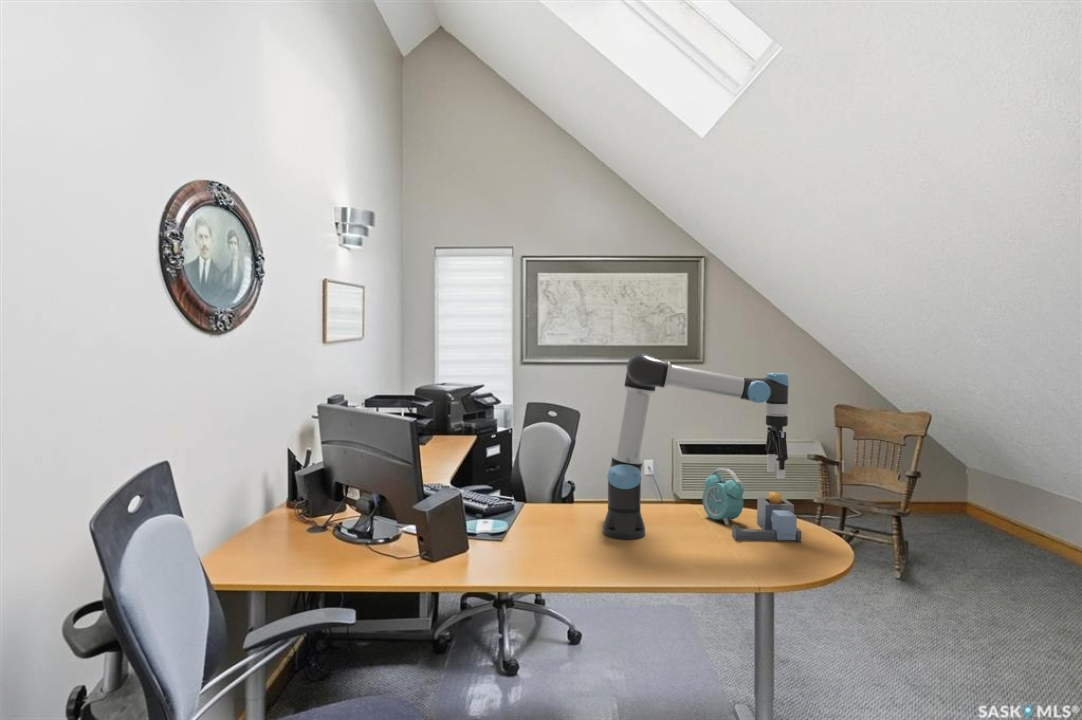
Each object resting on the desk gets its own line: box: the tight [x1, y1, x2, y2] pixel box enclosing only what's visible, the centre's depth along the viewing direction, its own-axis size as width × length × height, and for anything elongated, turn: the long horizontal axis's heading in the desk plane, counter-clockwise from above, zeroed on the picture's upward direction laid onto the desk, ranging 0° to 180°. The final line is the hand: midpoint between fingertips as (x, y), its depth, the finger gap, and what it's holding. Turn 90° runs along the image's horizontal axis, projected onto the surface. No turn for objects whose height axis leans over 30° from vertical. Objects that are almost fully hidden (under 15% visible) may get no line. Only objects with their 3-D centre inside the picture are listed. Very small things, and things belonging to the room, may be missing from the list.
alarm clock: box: [702, 467, 745, 526], centre depth 230 cm, size 17×10×20 cm, turn 25°
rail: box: [731, 524, 802, 544], centre depth 207 cm, size 22×5×4 cm, turn 86°
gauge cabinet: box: [756, 497, 795, 530], centre depth 220 cm, size 10×11×10 cm
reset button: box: [768, 491, 783, 504], centre depth 220 cm, size 4×4×4 cm
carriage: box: [772, 510, 798, 540], centre depth 207 cm, size 6×7×8 cm
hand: (775, 474), depth 219 cm, fingers open, 10 cm apart
